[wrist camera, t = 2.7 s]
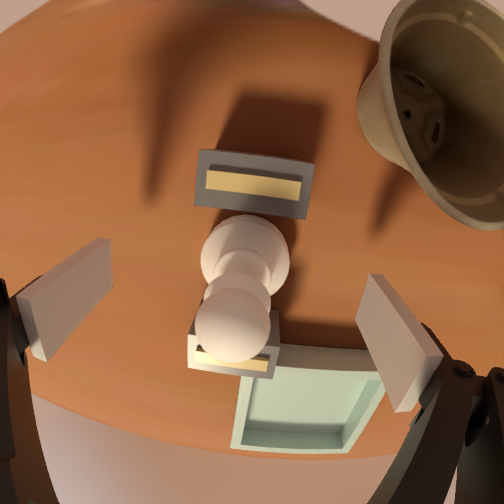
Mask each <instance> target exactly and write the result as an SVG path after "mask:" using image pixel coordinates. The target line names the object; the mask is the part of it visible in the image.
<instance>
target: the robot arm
mask: <svg viewBox="0 0 504 504" xmlns="http://www.w3.org/2000/svg"><path fill="white" fill-rule="evenodd" d="M112 288H113V278H112V263H111V242H110V239H106V238H97V239H95V240H93V241H92V242H90V243H89V244H87V245H86V246H84V247H83V248H81V249H80V250H78V251H77V252H75V253H74V254H72V255H71V256H70V257H68V258H67V259H65V260H64V261H62V262H61V263H59V264H58V265H57V266H55V267H54V268H52V269H51V270H50V271H48V272H47V273H45V274H44V275H41V276H39V277H37V278H36V279H35V280H33V281H32V282H31V283H29V284H28V285H26V287H24V288H22V289H21V290H20V291H19V292H17V293H16V294H15V295H13V296H12V297H11V298H9V296H8V292H7V288H6V284H5V280H3V279H2V278H0V504H60V503H59V502H58V499H57V497H56V494H55V491H54V488H53V485H52V482H51V479H50V476H49V473H48V470H47V466H46V463H45V459H44V456H43V452H42V448H41V443H40V440H39V435H38V431H37V426H36V420H35V415H34V410H33V404H32V397H31V390H30V382H29V373H28V362H27V356H26V353H25V349H26V348H27V347H28V346H29V345H30V348H31V351H32V354H33V356H34V357H36V358H38V359H41V360H43V361H45V362H48V361H49V360H50V358H51V357H52V356H53V355H54V354H55V352H56V351H57V350H58V349H59V348H60V346H61V345H62V344H63V343H64V342H65V340H66V339H67V338H68V337H69V336H70V335H71V333H72V332H73V331H74V330H75V329H76V328H77V327H78V325H79V324H80V323H81V322H82V321H83V320H84V319H85V318H86V316H87V315H88V314H89V313H90V312H91V311H92V310H93V309H94V308H95V306H96V305H97V304H98V303H99V302H100V301H101V300H102V299H103V298H104V297H105V296H106V294H107V293H108V292H109V291H110V290H111V289H112ZM355 321H356V323H357V325H358V328H359V330H360V332H361V334H362V336H363V339H364V341H365V343H366V345H367V348H368V350H369V352H370V354H371V357H372V359H373V361H374V363H375V366H376V368H377V370H378V373H379V375H380V378H381V380H382V382H383V385H384V387H385V390H386V392H387V394H388V397H389V399H390V402H391V404H392V407H393V409H394V412H406V411H411V410H412V409H413V407H414V406H415V404H416V403H417V401H418V400H419V402H420V404H421V406H422V407H421V409H420V410H419V412H418V413H417V415H416V416H415V418H414V419H413V420H412V422H411V423H410V425H409V426H410V427H411V428H410V430H409V433H408V435H407V437H406V439H405V441H404V443H403V444H402V446H401V448H400V450H399V452H398V454H397V456H396V458H395V460H394V461H393V463H392V465H391V466H390V468H389V470H388V472H387V474H386V475H385V477H384V478H383V480H382V482H381V483H380V485H379V486H378V488H377V490H376V491H375V493H374V494H373V496H372V497H371V499H370V500H369V502H368V503H367V504H443V503H444V501H445V498H446V496H447V493H448V490H449V487H450V485H451V482H452V479H453V476H454V473H455V470H456V467H457V481H456V493H455V501H454V504H504V369H502V368H500V367H494V368H492V369H491V370H490V372H489V374H488V375H487V377H483V376H477V375H476V373H475V371H474V369H473V368H472V367H471V366H470V365H469V364H467V363H465V362H463V361H460V360H453V359H452V358H451V356H450V355H449V353H448V352H447V351H446V349H445V348H444V346H443V345H442V344H441V343H440V341H439V340H438V338H436V336H435V334H434V333H433V332H432V330H431V329H430V328H428V327H427V326H426V325H425V324H423V323H420V322H419V321H418V319H417V318H416V317H415V315H414V314H413V313H412V311H411V310H410V309H409V307H408V306H407V305H406V304H405V302H404V301H403V300H402V298H401V297H400V296H399V295H398V293H397V292H396V291H395V290H394V288H393V287H392V286H391V285H390V283H389V282H388V281H387V280H386V278H385V277H384V276H383V275H381V274H373V273H369V276H368V279H367V283H366V286H365V289H364V293H363V296H362V299H361V302H360V306H359V309H358V312H357V315H356V318H355ZM488 421H489V422H488ZM487 422H488V424H487Z"/></svg>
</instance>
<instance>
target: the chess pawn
mask: <svg viewBox="0 0 504 504" xmlns="http://www.w3.org/2000/svg"><path fill="white" fill-rule="evenodd" d="M289 266H290V259H289V252H288V247H287V243H286V241H285V239H284V236H283V234H282V233H281V232H280V231H279V230H278V228H277V227H276V226H275V225H273V224H272V223H271V222H269V221H268V220H266V219H264V218H261V217H258V216H256V215H246V214H243V215H237V216H232V217H230V218H228V219H226V220H223V221H222V222H221V223H220V224H218V225H217V226H216V227H215V228H214V229H213V231H212V232H211V234H210V235H209V237H208V238H207V240H206V241H205V243H204V246H203V249H202V252H201V268H202V272H203V275H204V277H205V279H206V281H207V283H208V284H209V285H208V287H207V288H206V290H205V293H204V302H203V303H202V304H201V306H200V307H199V309H198V312H197V315H196V318H195V333H196V336H197V339H198V342H199V343H200V345H201V346H202V348H203V349H204V350H205V351H206V352H207V353H208V354H209V355H210V356H212V357H214V358H215V359H217V360H220V361H223V362H229V363H238V362H243V361H246V360H249V359H251V358H252V357H254V356H256V355H257V354H258V353H259V352H260V351H261V350H262V349H263V348H264V346H265V344H266V342H267V340H268V338H269V334H270V327H271V324H270V318H269V312H270V308H271V299H270V296H271V295H273V294H274V293H276V292H277V291H278V290H279V288H280V287H281V286H282V285H283V284H284V282H285V280H286V277H287V275H288V272H289Z"/></svg>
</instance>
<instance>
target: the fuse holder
mask: <svg viewBox="0 0 504 504" xmlns="http://www.w3.org/2000/svg"><path fill="white" fill-rule="evenodd" d="M314 167H315V164H313V163H310V162H307V161H305V160H299V159H293V158H287V157H280V156H273V155H266V154H258V153H250V152H241V151H232V150H223V149H200V150H199V158H198V168H197V178H196V189H195V201H194V205H197V206H206V207H214V208H222V209H230V210H238V211H246V212H254V213H261V214H268V215H275V216H282V217H289V218H296V219H303V220H306V216H307V210H308V204H309V199H310V192H311V186H312V180H313V174H314ZM203 302H204V299H202V301H201V303H200V306H201V304H202V303H203ZM200 306H199V307H200ZM198 309H199V308H198ZM197 312H198V311H197ZM196 315H197V313H196ZM195 318H196V316H195ZM195 318H194V321H193V323H192V326H191V328H190V331H189V333H188V368H194V369H200V370H205V371H212V372H218V373H224V374H231V375H239V376H246V377H254V378H263V379H273V376H274V371H275V367H276V363H277V359H278V354H279V350H280V333H279V312H278V310H277V309H270V312H269V318H270V324H271V327H270V334H269V338H268V340H267V342H266V344H265V346H264V348H263V349H262V350H261V351H260V352H259V353H258V354H257V355H256V356H254V357H252V358H251V359H249V360H246V361H243V362H238V363H229V362H223V361H220V360H217V359H215V358H214V357H212V356H210V355H209V354H208V353H207V352H206V351H205V350H204V349H203V348H202V346H201V345H200V343H199V342H198V339H197V336H196V333H195Z"/></svg>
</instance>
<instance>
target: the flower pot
mask: <svg viewBox="0 0 504 504" xmlns="http://www.w3.org/2000/svg"><path fill="white" fill-rule="evenodd" d="M406 75H411V76H413V77H415V78H417V79H418V80H419V81H420V82H421V83H422V85H423V86H422V87H421V86H419V85H418V84H416V83H414V82H412V81H411V80H408V79H406V77H405V76H406ZM405 111H409V113H410V117H406V116H405ZM357 115H358V120H359V122H360V125H361V128H362V130H363V133H364V135H365V137H366V139H367V140H368V142H369V143H370V145H371V146H372V147H373V148H374V149H375V150H376V151H377V152H378V153H379V154H380V155H381V156H383V157H384V158H386V159H387V160H389V161H391V162H393V163H395V164H397V165H399V166H401V167H402V168H404V169H406V170H407V171H409V172H411V173H412V175H413V176H414V178H415V179H416V181H417V182H418V184H419V185H420V186H421V188H422V189H423V190H424V191H425V193H426V194H427V195H428V196H429V197H430V199H431V200H432V201H433V202H434V203H435V204H436V205H437V206H438V207H440V208H441V209H442V210H443V211H444V212H445V213H447V214H448V215H449V216H451V217H452V218H454V219H455V220H457V221H459V222H461V223H462V224H464V225H467V226H469V227H472V228H474V229H479V230H485V231H493V230H500V229H504V15H503V14H502V13H501V12H500V11H498V10H497V9H496V8H495V7H493V6H492V5H490V4H489V3H487V2H486V1H484V0H401V1H400V2H399V3H398V4H397V5H396V6H395V8H394V9H393V10H392V12H391V14H390V15H389V17H388V19H387V21H386V23H385V25H384V28H383V31H382V35H381V39H380V45H379V55H378V63H377V64H376V66H375V67H374V69H373V70H372V71H371V73H370V74H369V76H368V77H367V78H366V80H365V81H364V83H363V84H362V86H361V88H360V91H359V95H358V99H357ZM436 123H437V124H439V126H438V129H439V131H438V136H437V139H436V141H435V142H433V140H432V138H431V137H432V134H433V133H434V129H435V125H436Z"/></svg>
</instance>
